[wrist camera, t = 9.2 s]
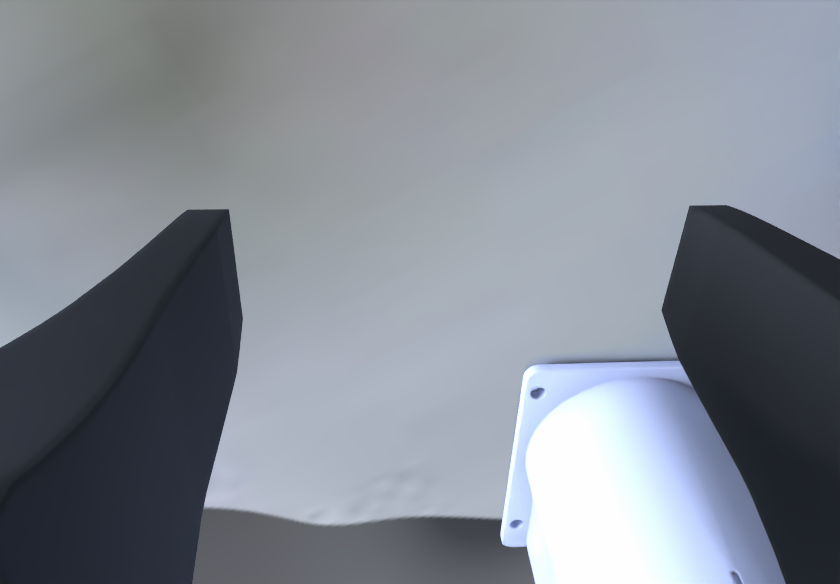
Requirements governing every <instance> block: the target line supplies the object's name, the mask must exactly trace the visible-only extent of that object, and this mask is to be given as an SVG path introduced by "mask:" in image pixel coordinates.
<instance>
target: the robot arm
mask: <svg viewBox="0 0 840 584" xmlns="http://www.w3.org/2000/svg"><path fill="white" fill-rule="evenodd" d="M662 313H663V316H664V319H665V322H666V325H667V328H668V331H669V334H670V337H671V340H672V343H673V345H674V348H675V351H676V353H677V356H678V359H679V361H647V362H610V363H572V364H539V365H534V366H532V367H530V368H528V369H527V370H526V371H525V373H524V376H523V383H522V390H521V397H520V403H519V410H518V417H517V424H516V431H515V438H514V445H513V451H512V458H511V465H510V472H509V479H508V486H507V492H506V499H505V506H504V513H503V520H502V527H501V533H500V534H501V539H502V543H503V544H504V545H506V546H509V547H526V546H527V549H528V554H529V558H530V562H531V567H532V571H533V575H534V580H535V584H840V259H838V258H836V257H834V256H832V255H830V254H828V253H826V252H824V251H822V250H820V249H818V248H816V247H814V246H812V245H810V244H809V243H807V242H805V241H803V240H801V239H799V238H797V237H795V236H793V235H791V234H789V233H787V232H785V231H783V230H781V229H779V228H777V227H775V226H773V225H771V224H769V223H767V222H765V221H763V220H761V219H759V218H757V217H755V216H752V215H750V214H748V213H746V212H743V211H741V210H738V209H736V208H733V207H730V206H727V205H716V206H689V210H688V214H687V218H686V221H685V225H684V229H683V232H682V236H681V240H680V244H679V247H678V251H677V255H676V258H675V262H674V266H673V270H672V273H671V277H670V281H669V284H668V288H667V292H666V296H665V299H664V303H663V307H662ZM242 321H243V317H242V309H241V301H240V294H239V286H238V278H237V270H236V262H235V254H234V247H233V239H232V231H231V223H230V215H229V209H220V210H187V211H185V212H184V213H183V214H181V215H180V216H179V217H178V218H177V219H175V220H174V221H173V222H172V223H171V224H170V225H168V226H167V227H166V228H165V229H164V230H163V231H162V232H160V233H159V234H158V235H157V236H156V237H155V238H154V239H152V240H151V241H150V242H149V243H148V244H147V245H146V246H144V247H143V248H142V249H141V250H140V251H138V252H137V253H136V254H135V255H134V256H132V257H131V258H130V259H129V260H128V261H127V262H125V263H124V264H123V265H122V266H121V267H119V268H118V269H117V270H116V271H114V272H113V273H112V274H110V275H109V276H108V277H106V278H105V279H104V280H102V281H101V282H100V283H98V284H97V285H96V286H94V287H93V288H92V289H90V290H89V291H88V292H86V293H85V294H84V295H82V296H81V297H80V298H78V299H77V300H76V301H74V302H73V303H72V304H70V305H69V306H67V307H66V308H65V309H63V310H62V311H60V312H59V313H57V314H56V315H54V316H53V317H51V318H49V319H48V320H46V321H45V322H43V323H42V324H40V325H38V326H37V327H35V328H33V329H32V330H30V331H28V332H27V333H25V334H23V335H22V336H20V337H18V338H17V339H15V340H13V341H12V342H10V343H8V344H6V345H4V346H3V347H1V348H0V584H192V580H193V573H194V566H195V558H196V551H197V543H198V537H199V530H200V522H201V516H202V511H203V507H204V502H205V497H206V492H207V488H208V484H209V480H210V476H211V472H212V469H213V465H214V461H215V457H216V453H217V449H218V445H219V441H220V437H221V434H222V430H223V426H224V422H225V418H226V414H227V410H228V406H229V402H230V398H231V394H232V390H233V386H234V382H235V378H236V374H237V367H238V358H239V350H240V340H241V331H242ZM539 387H540V388H541V389H540V390H538V391H532V390H533V389H535V388H539Z"/></svg>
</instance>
